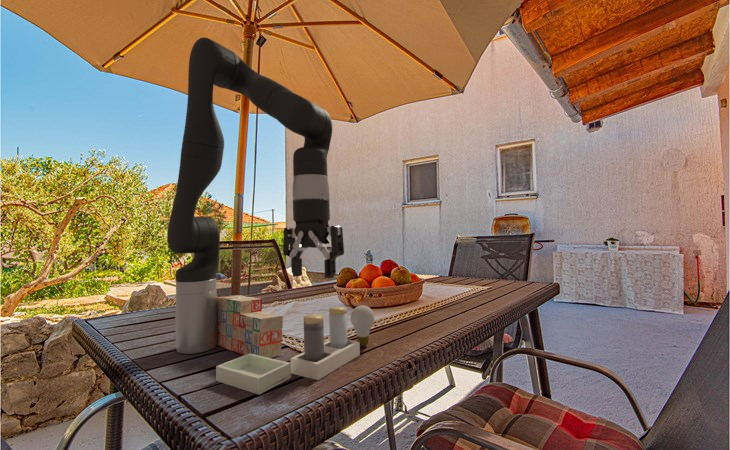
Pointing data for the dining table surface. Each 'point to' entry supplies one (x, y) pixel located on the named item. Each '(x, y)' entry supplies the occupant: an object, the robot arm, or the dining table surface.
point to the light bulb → (362, 323)
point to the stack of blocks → (248, 327)
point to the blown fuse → (313, 337)
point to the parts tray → (253, 373)
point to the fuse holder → (325, 361)
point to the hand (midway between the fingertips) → (313, 277)
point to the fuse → (338, 327)
